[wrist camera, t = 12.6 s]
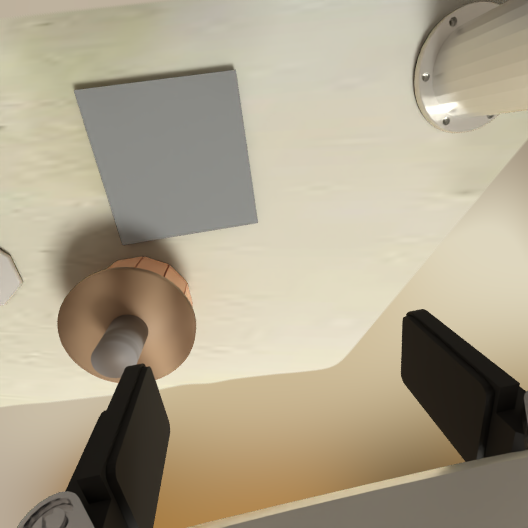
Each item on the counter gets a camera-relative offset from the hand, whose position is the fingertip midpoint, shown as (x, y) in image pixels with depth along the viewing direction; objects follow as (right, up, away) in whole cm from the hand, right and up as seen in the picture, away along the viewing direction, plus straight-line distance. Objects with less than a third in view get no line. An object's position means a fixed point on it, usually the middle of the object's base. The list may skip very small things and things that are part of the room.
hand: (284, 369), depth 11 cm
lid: (-15, -3, +23) cm, 28 cm away
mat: (-10, +15, +23) cm, 30 cm away
